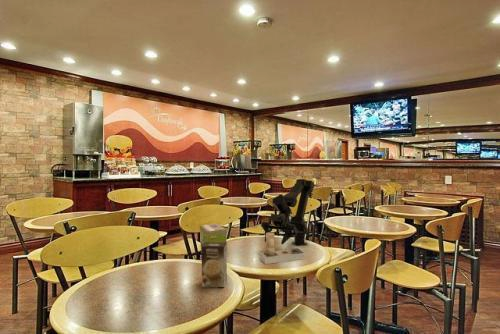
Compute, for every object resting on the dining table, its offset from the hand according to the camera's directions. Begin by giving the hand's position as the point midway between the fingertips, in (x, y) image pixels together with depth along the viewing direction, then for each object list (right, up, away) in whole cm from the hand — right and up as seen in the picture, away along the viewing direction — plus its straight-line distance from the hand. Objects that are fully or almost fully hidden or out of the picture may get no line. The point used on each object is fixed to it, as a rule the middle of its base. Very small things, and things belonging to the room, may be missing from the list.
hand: (273, 242), depth 143 cm
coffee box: (-25, -9, -29) cm, 39 cm away
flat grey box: (+4, -8, -1) cm, 9 cm away
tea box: (-30, -9, +8) cm, 33 cm away
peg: (-2, -8, -2) cm, 8 cm away
